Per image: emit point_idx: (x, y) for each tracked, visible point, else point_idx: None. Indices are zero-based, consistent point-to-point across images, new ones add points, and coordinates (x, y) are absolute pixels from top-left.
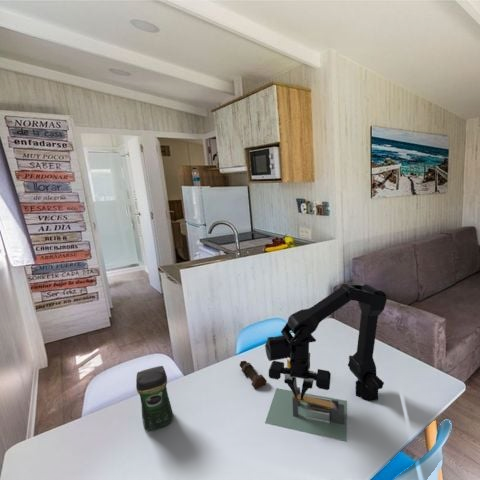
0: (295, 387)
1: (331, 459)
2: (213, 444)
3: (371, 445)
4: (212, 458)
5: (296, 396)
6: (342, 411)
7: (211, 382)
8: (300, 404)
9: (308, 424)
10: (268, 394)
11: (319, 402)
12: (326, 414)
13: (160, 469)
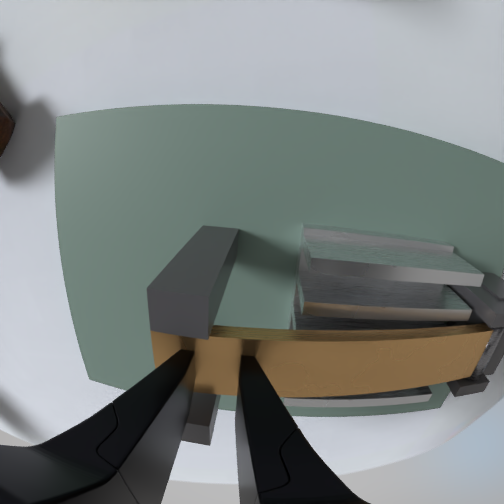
0: (157, 482)
1: (363, 448)
2: (25, 406)
3: (500, 373)
4: (48, 434)
5: (192, 393)
6: (500, 350)
7: None
8: (237, 242)
9: None
10: (37, 168)
11: (403, 371)
12: (414, 401)
13: (7, 428)
